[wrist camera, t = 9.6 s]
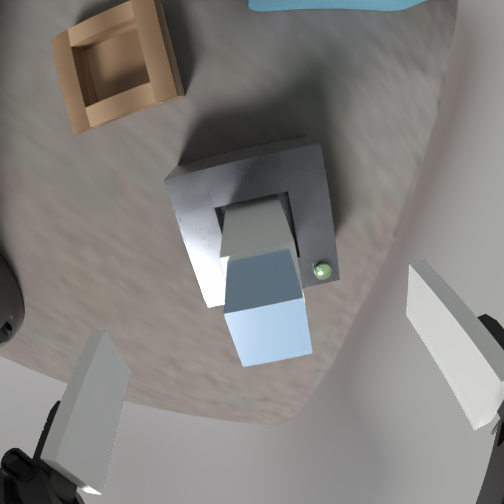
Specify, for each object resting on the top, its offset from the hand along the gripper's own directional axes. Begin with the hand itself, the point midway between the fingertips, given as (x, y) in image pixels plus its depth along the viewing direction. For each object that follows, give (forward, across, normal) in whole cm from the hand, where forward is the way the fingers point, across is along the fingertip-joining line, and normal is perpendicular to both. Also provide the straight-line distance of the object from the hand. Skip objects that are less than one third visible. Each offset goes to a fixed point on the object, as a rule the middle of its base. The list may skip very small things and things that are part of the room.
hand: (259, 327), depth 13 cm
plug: (+13, +1, 0) cm, 13 cm away
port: (+14, +1, 0) cm, 14 cm away
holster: (+14, -6, +14) cm, 21 cm away
